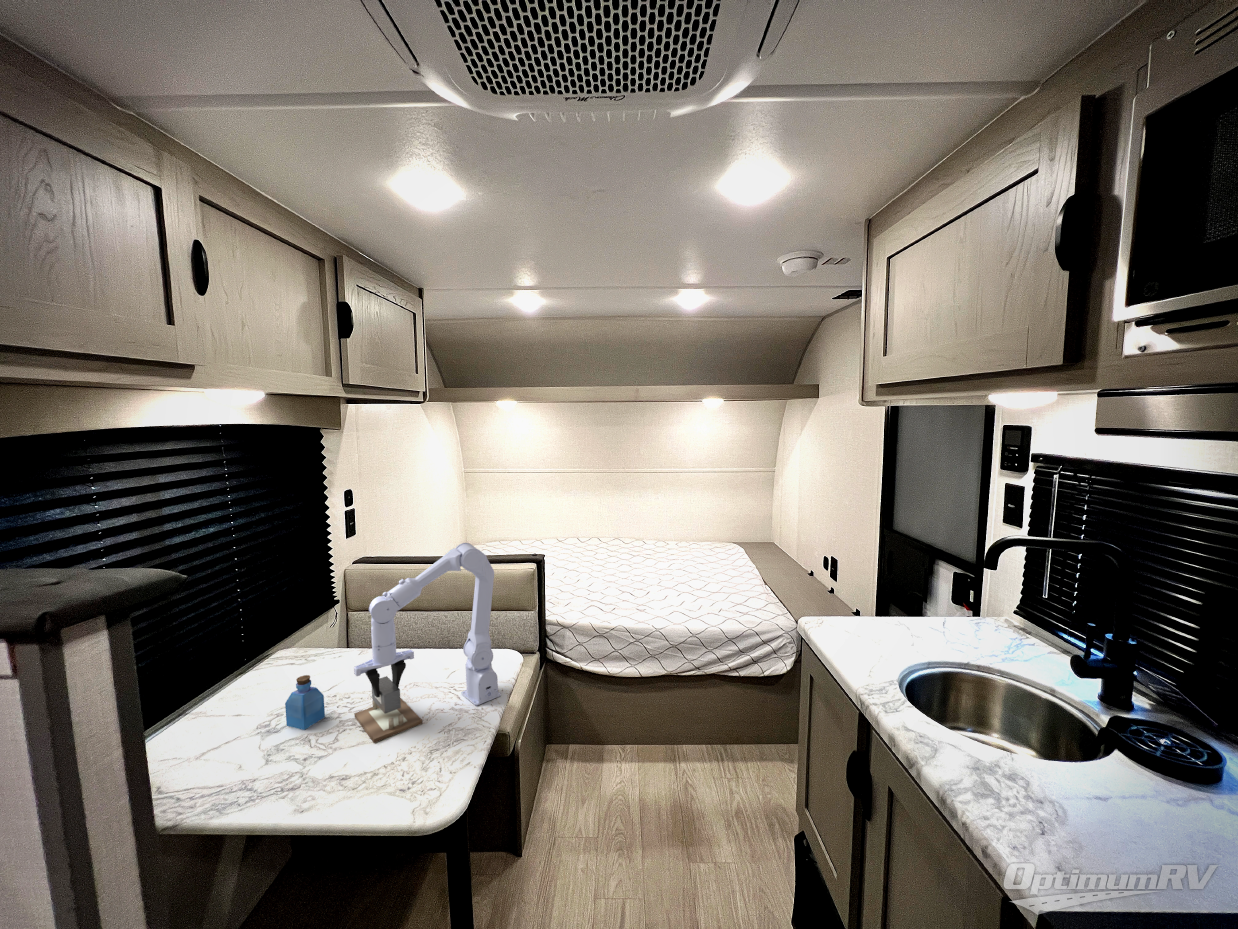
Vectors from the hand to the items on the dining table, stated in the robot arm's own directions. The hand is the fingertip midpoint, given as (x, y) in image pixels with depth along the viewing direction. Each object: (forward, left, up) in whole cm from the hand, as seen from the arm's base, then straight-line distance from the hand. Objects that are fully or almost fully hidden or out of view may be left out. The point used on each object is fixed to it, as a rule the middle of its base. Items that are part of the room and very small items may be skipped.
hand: (386, 692), depth 135 cm
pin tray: (0, 0, -8) cm, 8 cm away
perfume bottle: (+15, +16, -8) cm, 23 cm away
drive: (+1, 0, -3) cm, 3 cm away
